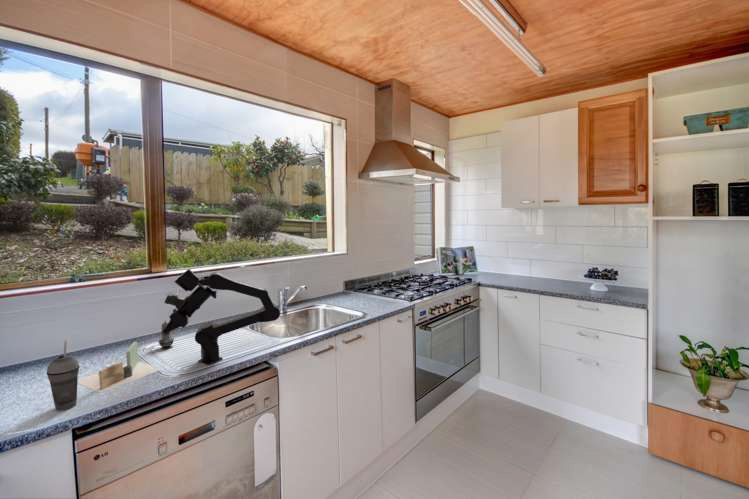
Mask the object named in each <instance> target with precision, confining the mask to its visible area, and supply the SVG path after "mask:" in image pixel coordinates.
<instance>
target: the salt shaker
mask: <svg viewBox="0 0 749 499" xmlns="http://www.w3.org/2000/svg"><path fill="white" fill-rule="evenodd" d="M168 323H169V322H167V321H166V320H165V321H164V323H162V324H161V331H160V333H161V339H160V340H158V344H159V346H160V350H161V351H165V350H170V349H172V348H173V344H174V340H175V338H173V337H171V331H170V332H168V333H165V334H164V333H163V330H164V329H165V327H166V326H167V324H168Z"/></svg>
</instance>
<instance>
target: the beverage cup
mask: <svg viewBox="0 0 749 499" xmlns="http://www.w3.org/2000/svg"><path fill="white" fill-rule="evenodd" d="M63 343H64V344H63V355H59V356H56V357H54V359H52V360H51V361H50V362H49V364H48V366H47V367H46V368H47V369H46V373H45V374H46V376H47V378H48V381H49V384H50V389H51V394H52V399H53V405H54V407H55V411H57V412H63V411H64V412H65V411H68V410H70V409H73V408H74V407H76V406H77V402H78V383H77V381H78V377H79V376H78V375H79V372H80V371H79V370H80V364H79V362H78V359H76V358H75V357H74V356H72V355H67V346H68V345H67V340H65V341H64V342H63Z"/></svg>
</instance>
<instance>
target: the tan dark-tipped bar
mask: <svg viewBox="0 0 749 499" xmlns="http://www.w3.org/2000/svg"><path fill="white" fill-rule="evenodd" d="M123 365H124V364H123V361H118V362H117V363H114V364H112V365H109V366H107V367H104V368H102V369H99V371H98V373H99V382H100V389H103V388H106V387H108V386H110V385H112V384H114V383H116V382H118V381H120V380H122V379H123V371H124V377H131V376H132V366H126V367H124V368H123Z"/></svg>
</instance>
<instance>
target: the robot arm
mask: <svg viewBox="0 0 749 499" xmlns="http://www.w3.org/2000/svg"><path fill="white" fill-rule="evenodd" d="M174 283H175V284H176V285H177V286H178V287H179V288H182V289H183V291H185V292H191V293H190V294H188V295H186V296H185V297H184V296H181V295H178V294H176V293H173V292H172V293H171V292H169V293H168V294H167V295H166V297H165V299H164V301H163V303H164V304H166V305H171V306H174V307H175V308H173V309H172V312H171V313H170V314H169V322H167V323H168V324H167V326H166V327H165V329H164V330H163V333H164V334H165V333H168V332H170V333H171V331H172V332H173V331H174V330H177V329H178V328H185V327H186V326H187V325H188V324H189V322H190V318H192V316H193V315H194V313H195V312H197V310H199V309H200V308H201V306H203V304H204V303H206V302H207V300H208V299H209V298H210V297H212V299H217V293H218V291H232V292H235V293H239V294H243V295H246V296H249V297H253V298H257V299H259V300H260V301H261V304H262V307H260V308H259V309H257V310H256V311H254V312H252V313H247V314H245V315H242V316H239V317H237V318H233V319H230V320H227V321H223V322H220V323H214V321H213V320H211V321H209V322H207V323H202V324H201V325H200V326H199V327H198V328H197V329H196V331H195V335H194V341H195V343H197V344H199V345H200V356H201V358H200V359H198V360H197V361H198V363H203V364H206V365H212V364H214V363H216V362H219V361H221V360H223V359H224V358H223V357H222V356H220V345H219V343H218V341H219V340H218V339H219V337H221V336H222V335H225V334H228V333H231V332H235V331H237V330H240V329H243V328H245V327H248V326H252V325H254V324H257V323H268V322H275V321H277V320H278V319H279V318H280V315H281V312H280V309H279V307H278V306H277V305H276V304H275V303H273V302H272V300H271V297H270V295H269V291H268V290H267V289H266V288H263V287H262V288H261V287H258V286H255V285H253V284H252V285H250V284H249V283H244V282H240V281H238V280H235V279H233V278H230V277H228V276H227V275H225V274H223V273H221V272H218V271H213V272H211V273H210V274H209V275H205V276H201V277H200V276H198V275H197V274H195V273H194V272H193V271H192V269H190V268H188V269H186V271H184V273H182V274H181V275H179V276H178V277H177V278H176V279H175V280H174ZM197 286H198V287H197Z"/></svg>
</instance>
